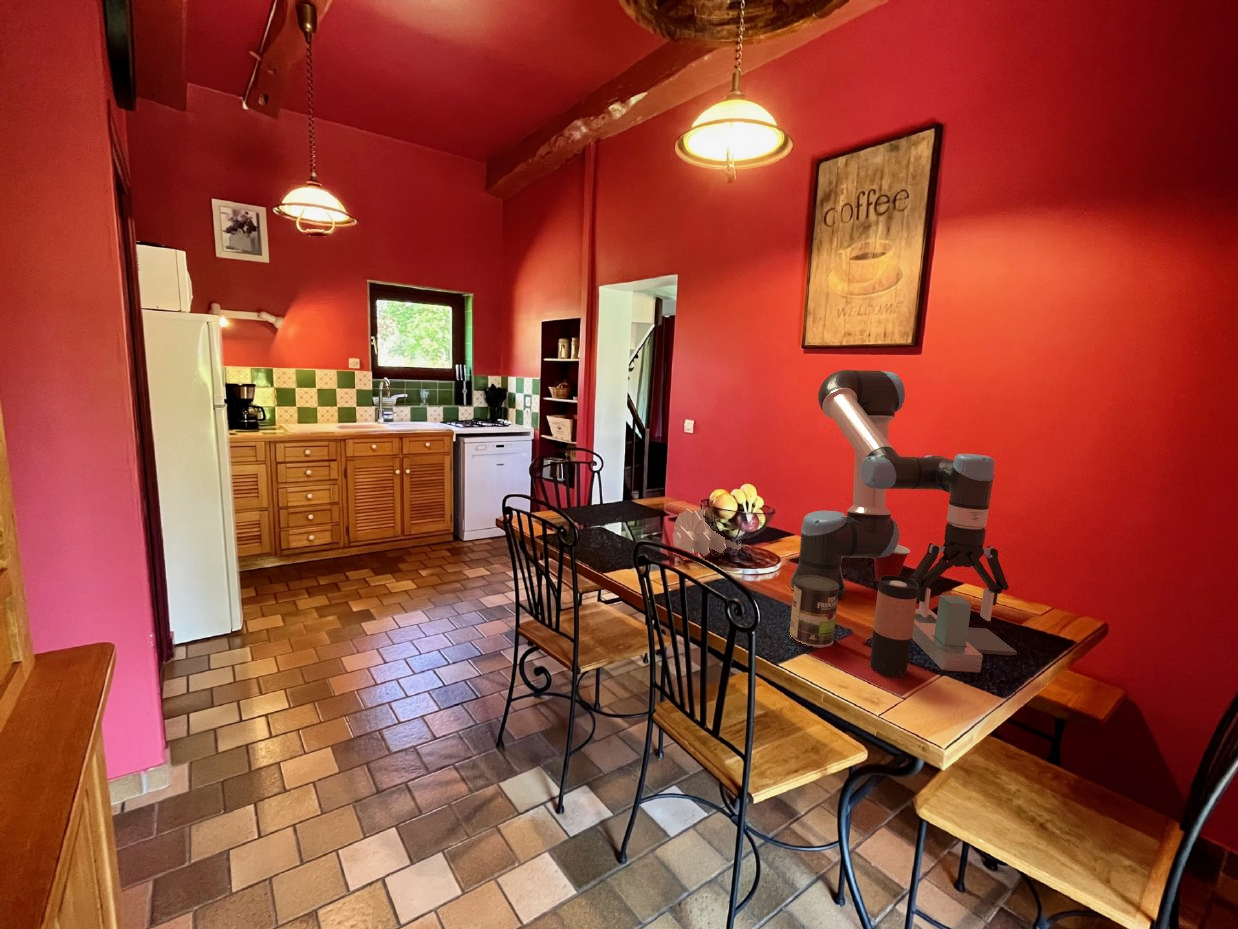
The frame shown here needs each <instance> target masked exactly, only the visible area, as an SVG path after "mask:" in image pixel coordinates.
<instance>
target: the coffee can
mask: <svg viewBox="0 0 1238 929" xmlns="http://www.w3.org/2000/svg"><path fill="white" fill-rule="evenodd" d="M839 588H840V586H839V584H838V583H837V582H835V581H833V580H831V579H829V578H825V577H821V576H815V575H801V576H797V577H795V578H794V591H793V590H792V591H793V593H792V601H791V602H792V605H791V616H790V625H789V626H790V627H789V632H790V635H791V637H793V638H794V639H795V640H796V641H798V642H801V643H802V644H806V645H807V646H806V645H805V646H806V647H810V646H813V647H812V648H821V649H822V648H828V647H830V646H832V645H833V644H834V641H835V640H834V638H835V637H834V636H835V628H836V620H837V618H836V617H837V607H838V601H839V599H838V592H839ZM790 635H789V636H790ZM791 637H790V638H791ZM796 641H795V642H796ZM798 642H797V643H798ZM802 644H801V645H802Z"/></svg>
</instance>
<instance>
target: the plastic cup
mask: <svg viewBox="0 0 1238 929" xmlns="http://www.w3.org/2000/svg"><path fill="white" fill-rule="evenodd" d="M910 553H911V550H910V549H909V548H908V547H905V546H902V545H900V544H898V545H897V547H896V549H895V550H894V552H892V554H891V555H889V556H887V557H878V558H873V561H874V563H873V564H874V572H875V573H874V574H875V582H876V581H877V582H879V579H880V577H882V576H887V575H891V576H900V575H901V572H902V569H903V567H904V563H905V560H906V559H907V557H908V555H909V554H910ZM877 582H876V583H877Z"/></svg>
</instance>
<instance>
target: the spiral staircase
mask: <svg viewBox="0 0 1238 929" xmlns="http://www.w3.org/2000/svg"><path fill="white" fill-rule="evenodd" d="M703 507H704V506H702V509H699V510H694V511H692V510H691V509H690V508H685V511H682V512H679V513H678V516H677V517H676V520H675V522H674V524H673V525H674V526H673V532H672V535H671V536H672V542H673V547H674V546H675V547H678V548H681V549H684V550H686V551H688V552H690V553H694V551H695V552H698V553H701V554H703V556H706V557H707V555H709V553H710V551H709V548H710V549H713V550H715V551H717V552H719V553H723V554H724V552H725V551H724V550H725V549H726V548H727V547H726V546H729V547H731V548H733V549H737V550H738V551H739V550H740V549H741V548H742V544H741V541H740V542H739V543H740V544H738V545H736V544H735V543H734V542H731V541H730V540H725V537H723V536H721V535H720V534H718V533H716V531H713V530H712V529H711V528H710V526H709V525H708V524H707V523H706V522H705V518H704V517H703ZM723 551H724V552H723Z"/></svg>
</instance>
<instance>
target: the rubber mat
mask: <svg viewBox="0 0 1238 929" xmlns="http://www.w3.org/2000/svg"><path fill="white" fill-rule="evenodd" d="M966 641H967V642H968V643H969V644H970V645H971V646H973V647H974V648H975V649H976V650H977V651H978V652H980V653H981V654H982V655H983V654H985V655H995V654H996V655H995V656H997V655H998V656H999V655H1000V656H1012V655H1016V656H1017V654H1018V653H1017V651H1016V649H1014V648H1013V647H1011V646H1010V645H1009V644H1007V643H1006V642H1005V641H1004V640H1002V639H1001V638H1000V637H999V636H997V635H996V634H994V633H993V632H992V631H991V630H989V629H988V628H983V627H969V626H968V633H967V640H966Z"/></svg>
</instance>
